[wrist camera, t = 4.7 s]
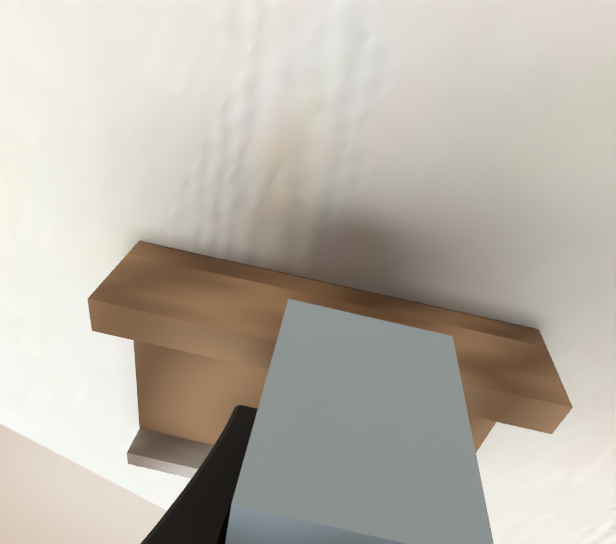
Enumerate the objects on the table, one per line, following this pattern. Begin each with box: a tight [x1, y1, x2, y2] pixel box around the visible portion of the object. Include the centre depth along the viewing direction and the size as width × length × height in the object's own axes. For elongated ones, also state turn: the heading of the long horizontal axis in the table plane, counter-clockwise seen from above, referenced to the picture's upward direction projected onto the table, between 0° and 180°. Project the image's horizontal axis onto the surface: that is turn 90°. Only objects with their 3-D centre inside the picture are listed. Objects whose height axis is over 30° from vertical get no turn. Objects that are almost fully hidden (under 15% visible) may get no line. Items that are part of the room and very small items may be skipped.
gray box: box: [225, 299, 494, 544], centre depth 10 cm, size 4×6×5 cm, turn 170°
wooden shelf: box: [88, 241, 573, 478], centre depth 21 cm, size 17×13×4 cm
